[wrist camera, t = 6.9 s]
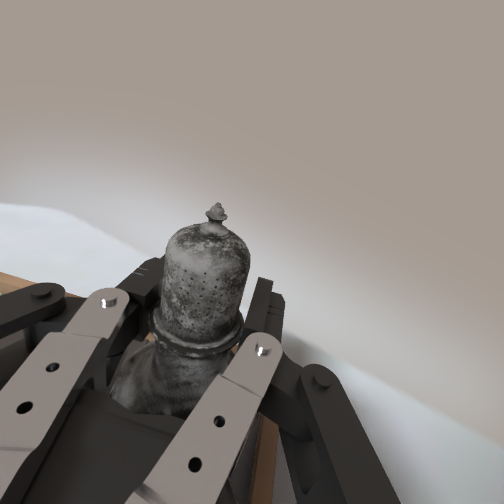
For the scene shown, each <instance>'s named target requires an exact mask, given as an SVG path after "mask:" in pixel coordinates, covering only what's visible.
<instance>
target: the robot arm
mask: <svg viewBox="0 0 504 504" xmlns="http://www.w3.org/2000/svg"><path fill="white" fill-rule="evenodd" d="M164 264H165V255H164V256H163V257H161V258H160V259H159V258H156V257H155V258H152V259H150V260H147V261H145V262H144V263H143V264H142V265H140V266H139V268H137V269H136V270H135V271H134V272H133V273H131V274H130V275H129V276H128V277H127V278H126V279H124V280H123V281H122V282H121V283H120V284H119V285H118V286H116V287H115V288H104V289H100V290H97V291H95V292H93V293H92V294H91V295H90V296H89V297H88V298H81V297H66V294H65V289H64V287H62V286H61V285H59V284H56V283H38V284H33V285H30V286H27V287H24V288H21V289H18V290H16V291H13V292H10V293H7V294H4V295H1V296H0V339H2V338H4V337H7V336H9V335H11V334H13V333H16V332H18V331H20V330H22V329H23V334H24V338H23V339H21V340H19V341H17V342H15V343H13V344H11V345H9V346H6V347H4V348H2V349H0V504H238V502H237V499H236V496H235V493H234V490H233V486H232V483H231V478H232V475H233V473H234V471H235V468H236V466H237V464H238V461H239V459H240V456H241V454H242V451H243V449H244V447H245V444H246V442H247V440H248V437H249V435H250V433H251V431H252V428H253V426H254V424H255V421H256V419H257V417H258V414H259V412H260V413H261V414H263V415H264V416H265V417H267V418H268V419H270V420H271V421H272V422H274V423H275V424H277V425H278V426H279V432H280V436H281V440H282V444H283V448H284V452H285V457H286V461H287V465H288V469H289V473H290V477H291V481H292V485H293V489H294V493H295V497H296V501H297V504H401V503H400V501H399V499H398V497H397V495H396V493H395V491H394V489H393V487H392V485H391V483H390V481H389V479H388V477H387V475H386V473H385V471H384V469H383V467H382V465H381V463H380V461H379V459H378V457H377V455H376V453H375V451H374V449H373V447H372V445H371V443H370V441H369V439H368V437H367V435H366V433H365V431H364V429H363V427H362V425H361V423H360V421H359V419H358V417H357V415H356V413H355V411H354V409H353V407H352V405H351V403H350V401H349V399H348V397H347V395H346V393H345V391H344V389H343V387H342V385H341V383H340V381H339V379H338V378H337V376H336V375H335V374H334V373H333V372H332V371H330V370H329V369H328V368H326V367H324V366H321V365H318V364H310V365H307V366H305V367H304V368H303V367H301V366H299V365H298V364H296V363H294V362H293V361H291V360H290V359H289V358H288V357H287V356H286V355H285V353H284V352H283V349H282V346H281V336H282V327H283V317H284V309H285V301H284V299H283V297H282V295H281V294H278V293H275V292H271V291H272V285H273V281H271V280H268V279H265V278H261V277H259V278H258V281H257V284H256V287H255V291H254V294H253V297H252V301H251V304H250V307H249V311H248V314H247V317H246V320H245V324H244V327H243V331H242V334H241V338H240V341H239V345H238V349H237V352H236V355H235V356H234V358H233V359H232V361H231V363H230V364H229V366H228V367H227V369H226V370H225V372H224V373H223V374H222V375H221V374H218V375H217V376H216V377H215V379H214V380H213V381H212V383H211V384H210V386H209V387H208V389H207V390H206V392H205V393H204V395H203V396H202V398H201V399H200V400H199V402H198V403H197V405H196V406H195V408H194V409H193V411H192V412H191V414H190V415H189V417H188V418H187V420H183V419H180V418H177V417H174V416H171V415H153V414H136V413H133V412H131V411H129V410H128V409H127V408H125V407H124V406H122V405H121V404H120V403H118V402H117V401H115V400H114V399H113V398H111V397H110V396H109V395H110V392H111V390H112V387H113V385H114V383H115V380H116V378H117V376H118V373H119V371H120V369H121V367H122V364H123V362H124V360H125V357H126V355H127V352H128V345H129V344H130V343H131V342H132V340H136V341H139V342H143V341H144V339H145V338H146V337H147V335H148V334H149V332H150V329H149V325H148V316H149V311H150V309H151V307H152V306H153V304H154V303H155V302H156V301H157V300H158V299H159V298H160V297H161V295H162V285H163V274H164Z"/></svg>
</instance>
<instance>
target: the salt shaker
mask: <svg viewBox="0 0 504 504" xmlns="http://www.w3.org/2000/svg"><path fill="white" fill-rule="evenodd" d="M205 214H206V216H207V217H208V218H209V221H208V222H205V223H202V224H194V225H191V226H188V227H185V228H182V229H180V230H179V231H177V232H176V233H175V234H174V235H173V236H172V237H171V239H170V240H169V242H168V245H167V247H166V254H165V264H164V274H163V285H162V295H161V297H160V298H159V299H158V300H157V301H156V302H155V303H154V304H153V306H152V307H151V309H150V311H149V316H148V325H149V329H150V332H151V334H152V335H153V336H154V338H155V340H154V341H151V342H149V343H147V344H146V345H144V346H143V347H141V348H140V349H138V350H137V351H135V352H134V353H133V354H132V355H131V357H130V358H129V359H128V360H127V361H126V362H125V363H124V364H123V366H122V368H121V370H120V371H119V373H118V376H117V378H116V380H115V384H114V388H113V393H112V398H113V399H114V400H115V401H117V402H118V403H120V404H121V405H122V406H124V407H125V408H127V409H128V410H129V411H131V412H133V413H136V414H153V415H171V416H174V417H177V418H180V419H183V420H187V418H188V417H189V415H190V414H191V412H192V411H193V409H194V408H195V406H196V405H197V403H198V402H199V400H200V399H201V398H202V396H203V395H204V393H205V392H206V390H207V389H208V387H209V386H210V384H211V383H212V381H213V380H214V379H215V377H216V376H217V375H218V374H221V375H222V374H223V373H224V372H225V370H226V369H227V367H228V366H229V364H230V363H231V361H232V359H233V358H234V356H235V354H234V353H233V351H232V350H230V349H232V348H233V347H234V346H235V345H236V344H237V343H238V342H239V341H240V338H241V334H242V331H243V327H244V320H243V316H242V314H241V312H240V311H239V307H240V303H241V299H242V296H243V292H244V288H245V284H246V281H247V276H248V273H249V269H250V253H249V250H248V248H247V246H246V244H245V243H244V242H243V240H242V239H241V238H240V237H238V236H237V235H236V234H235V233H233V232H232V231H230V230H228V229H227V228H226V227H225V226H223V225H222V221H224V220H226V219H227V215H226V214H224V209H223V208H222V207H221V204H220V203H216V204H215V206H212V207H211V209H210V211H206V213H205Z"/></svg>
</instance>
